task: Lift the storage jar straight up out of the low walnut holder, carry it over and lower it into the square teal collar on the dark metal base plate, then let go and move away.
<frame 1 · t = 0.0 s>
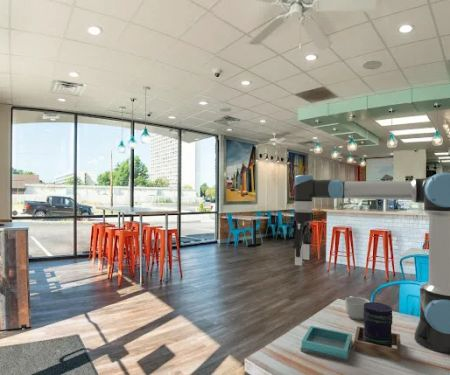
hand: (302, 262, 132), 28 cm above the table, tool pointing down, fingers open, 13 cm apart
teacup: (356, 316, 148), on the table
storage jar: (377, 347, 117), resting in walnut holder
collar plate: (327, 346, 116), on the table
walnut holder: (377, 346, 117), on the table
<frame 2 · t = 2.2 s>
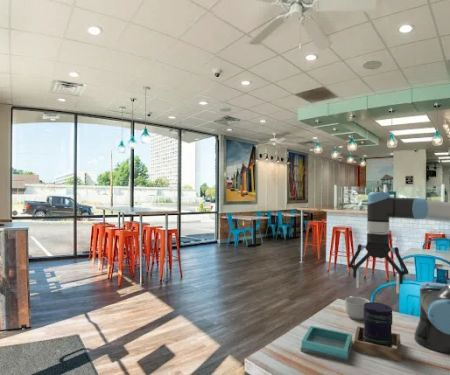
hand: (377, 289, 118), 21 cm above the table, tool pointing down, fingers open, 13 cm apart
nothing on the table moved.
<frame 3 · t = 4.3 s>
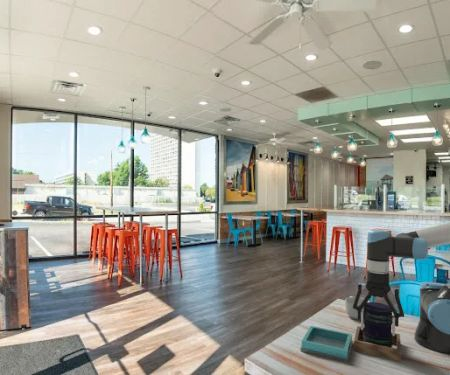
hand: (377, 331, 117), 6 cm above the table, tool pointing down, fingers closed on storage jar, 10 cm apart
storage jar: (377, 347, 117), resting in walnut holder, touching gripper
everything else where it was.
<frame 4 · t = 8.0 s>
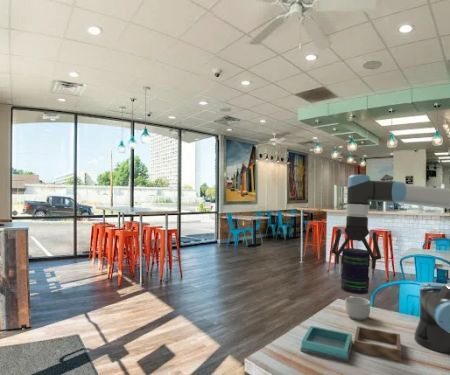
hand: (354, 275, 118), 26 cm above the table, tool pointing down, fingers closed on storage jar, 10 cm apart
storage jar: (354, 290, 118), point 21 cm above the table, touching gripper
everything else where it was.
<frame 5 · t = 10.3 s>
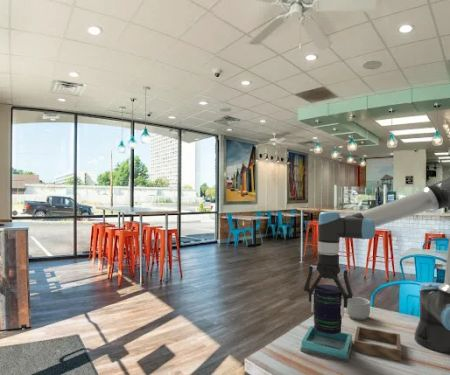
hand: (327, 313, 117), 12 cm above the table, tool pointing down, fingers closed on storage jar, 10 cm apart
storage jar: (327, 329, 117), point 6 cm above the table, touching gripper
everything else where it was.
when the fingers open (9 cm above the table, at t = 11.9 s): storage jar drops 2 cm, resting on collar plate.
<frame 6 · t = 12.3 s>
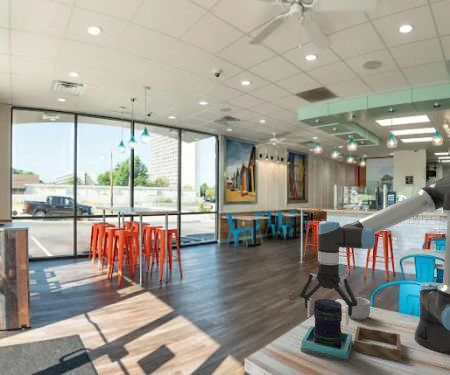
hand: (327, 320, 117), 10 cm above the table, tool pointing down, fingers open, 13 cm apart
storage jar: (327, 344, 116), point 1 cm above the table, touching collar plate
everything else where it was.
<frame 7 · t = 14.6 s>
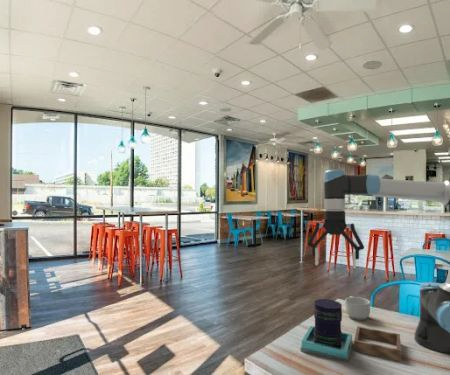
hand: (335, 266, 119), 29 cm above the table, tool pointing down, fingers open, 13 cm apart
nothing on the table moved.
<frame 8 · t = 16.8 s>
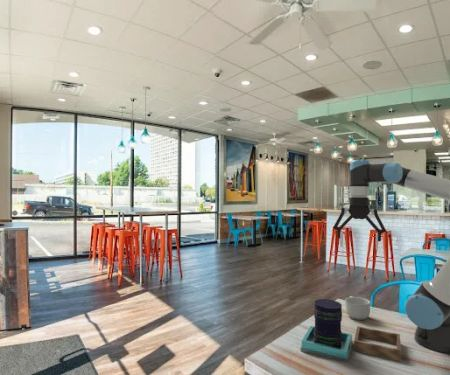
hand: (358, 247, 131), 35 cm above the table, tool pointing down, fingers open, 13 cm apart
nothing on the table moved.
at the end: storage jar 0.0 cm off-centre on the collar plate, point 0.8 cm above the collar plate's base; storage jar tilted 0°; the gripper is holding nothing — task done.
